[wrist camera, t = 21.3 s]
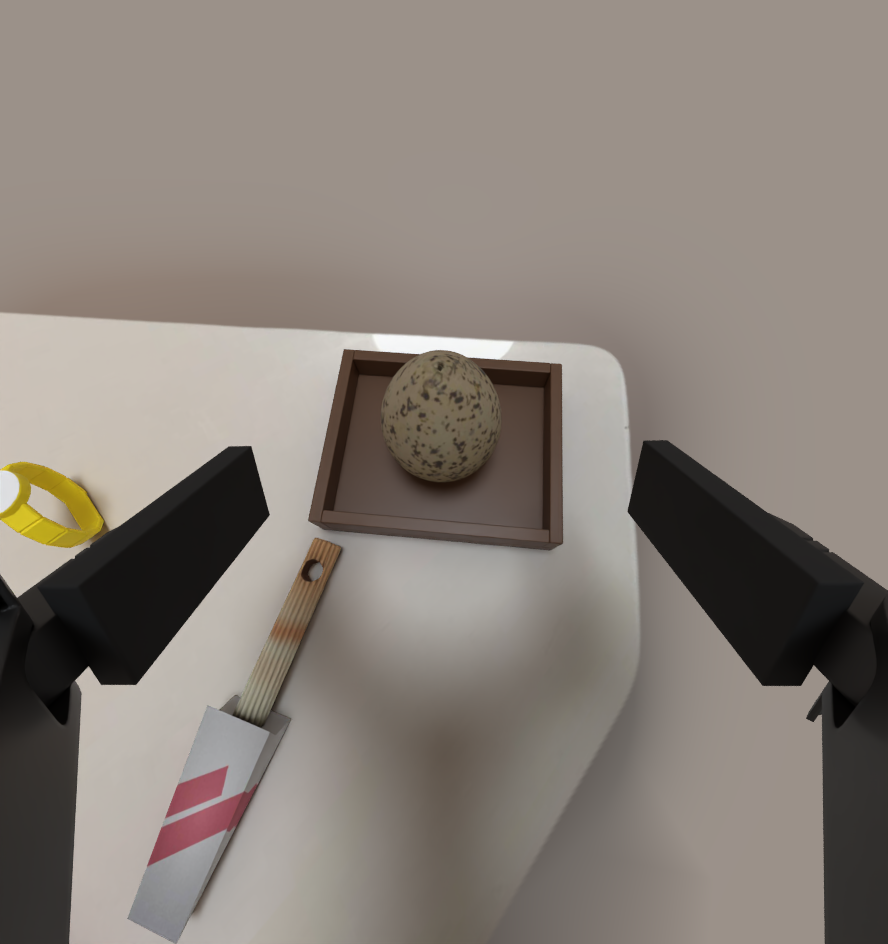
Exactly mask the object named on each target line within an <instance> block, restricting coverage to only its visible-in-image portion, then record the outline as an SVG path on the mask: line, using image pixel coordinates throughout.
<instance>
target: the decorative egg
mask: <svg viewBox="0 0 888 944" xmlns="http://www.w3.org/2000/svg"><path fill="white" fill-rule="evenodd" d="M501 421H502V419H501V407H500V402H499V398H498V395H497V393H496V390H495V388H494V386H493V384H492V382H491V381H490V379H489V378H488V376H487V375H486V374H485V372H484V371H483V370H482V369H481V368H480V367H479V366H478V365H477V364H475V363H474V362H473V361H471V360H470V359H468V358H467V357H465V356H463V355H461V354H458V353H455V352H452V351H444V350H436V351H429V352H426V353H423V354H420V355H418V356H416V357H414V358H413V359H411V360H409V361H408V362H407V363H406V364H405V365H404V366H402V367H401V368H400V369H399V371H398V372H397V373H396V374H395V375H394V377H393V378H392V380H391V381H390V383H389V385H388V387H387V389H386V392H385V395H384V398H383V402H382V407H381V428H382V433H383V437H384V440H385V442H386V445H387V447H388V449H389V451H390V453H391V454H392V456H393V457H394V459H395V460H396V461H397V462H398V463H399V464H400V465H401V466H402V467H403V468H404V469H405V470H406V471H408V472H409V473H411V474H413V475H415V476H417V477H419V478H421V479H424V480H428V481H433V482H451V481H456V480H459V479H462V478H465V477H467V476H469V475H471V474H472V473H474V472H475V471H477V470H478V469H479V468H480V467H481V466H482V465H483V464H484V463H485V462H486V461H487V460H488V459H489V457H490V456H491V454H492V453H493V451H494V449H495V447H496V445H497V442H498V439H499V437H500V431H501Z"/></svg>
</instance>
